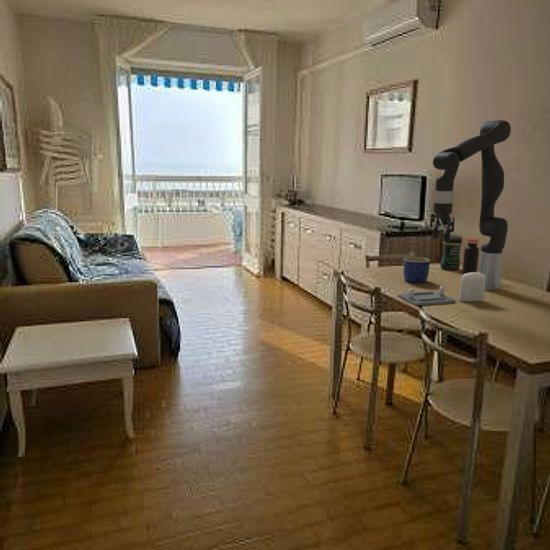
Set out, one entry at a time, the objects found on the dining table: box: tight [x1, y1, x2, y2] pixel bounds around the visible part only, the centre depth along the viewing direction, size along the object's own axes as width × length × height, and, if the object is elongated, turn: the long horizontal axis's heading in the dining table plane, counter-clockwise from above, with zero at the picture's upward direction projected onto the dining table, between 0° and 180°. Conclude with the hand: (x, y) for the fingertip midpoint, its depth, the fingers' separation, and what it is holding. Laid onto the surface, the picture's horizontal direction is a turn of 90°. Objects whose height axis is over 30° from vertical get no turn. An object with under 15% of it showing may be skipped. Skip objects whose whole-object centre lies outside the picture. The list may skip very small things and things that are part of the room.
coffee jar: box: [439, 235, 463, 271], centre depth 262 cm, size 10×8×19 cm
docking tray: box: [397, 285, 456, 307], centre depth 206 cm, size 19×14×5 cm
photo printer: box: [458, 271, 486, 302], centre depth 204 cm, size 10×4×12 cm, turn 98°
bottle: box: [461, 237, 480, 276], centre depth 244 cm, size 7×7×20 cm
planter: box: [403, 256, 431, 284], centre depth 237 cm, size 12×12×11 cm
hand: (440, 240), depth 204 cm, fingers open, 8 cm apart
